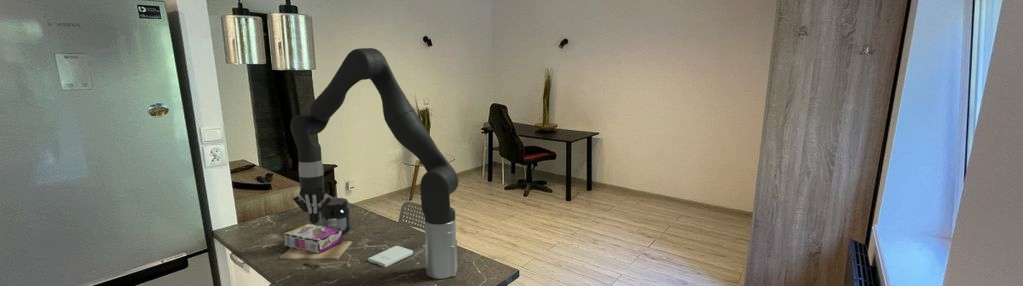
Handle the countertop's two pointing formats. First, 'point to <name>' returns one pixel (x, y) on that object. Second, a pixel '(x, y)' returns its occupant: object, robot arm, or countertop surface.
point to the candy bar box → (313, 238)
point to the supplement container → (336, 215)
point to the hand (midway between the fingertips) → (315, 223)
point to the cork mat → (326, 255)
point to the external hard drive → (390, 256)
